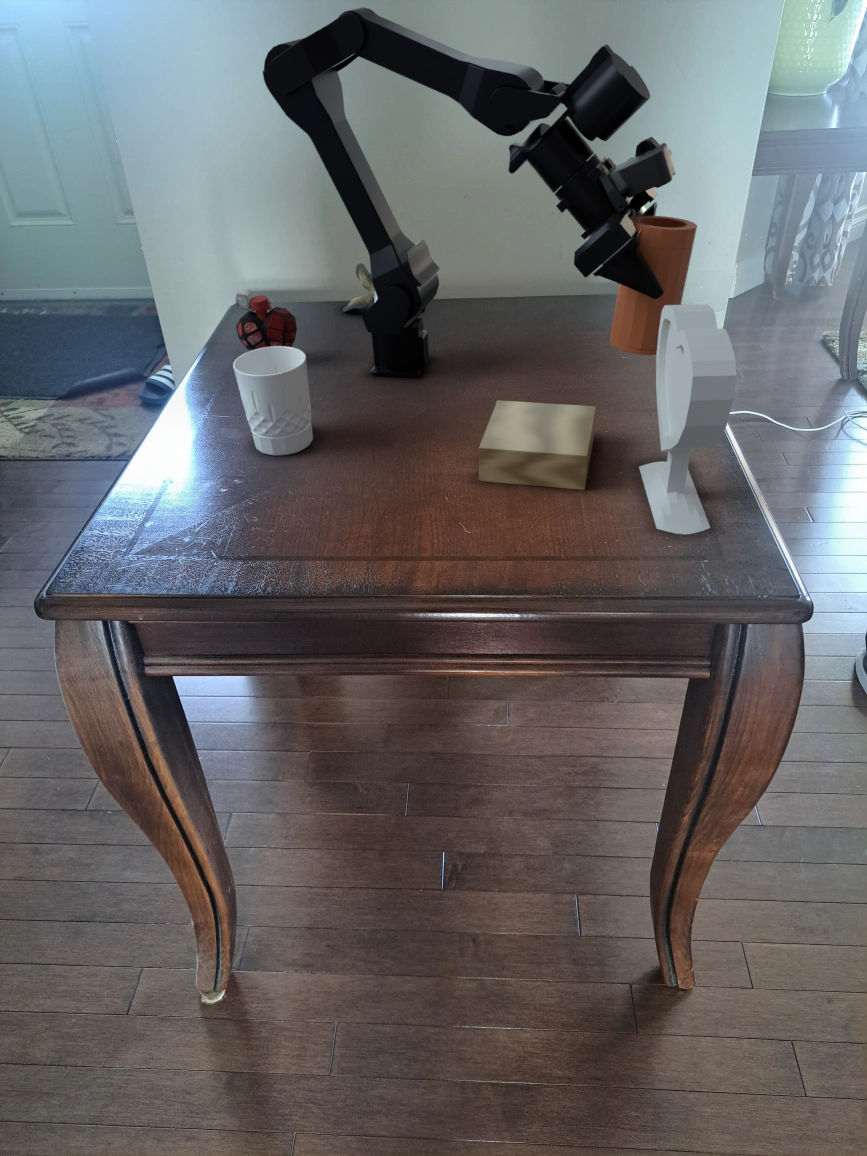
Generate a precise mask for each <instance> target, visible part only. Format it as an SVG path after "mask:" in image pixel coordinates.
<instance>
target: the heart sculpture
mask: <svg viewBox="0 0 867 1156" xmlns="http://www.w3.org/2000/svg"><path fill="white" fill-rule="evenodd" d="M717 324H718V323H717V317H716V312H715V310H714V309H713V307H712V305H709V304H707V303H694V304H692V303H690V304H681V305H665V306H664V307H663V309H662V312H661V319H660V325H659V333H658V344H657V355H655V360H656V361H655V364H656V365H655V375H656V376H655V389H656V390H655V391H656V392H655V394H656V407H657V408H656V409H657V410H656V411H657V420H658V421H657V422H658V431H659V445H660V452H667V458H666V461H660V460H659V461H654V462H650V463H646V464H643V465H640V466H638V469H639V472H640V476H641V479H642V483H643V486H644V491H645V493H646V496H647V500H648V503H649V507H650V510H651V513H652V518H653V521H654V524H655V528H656V529H657V530H660V531H664V532H667V533H671V534H675V535H676V534H677V535H685V536H686V535H693V534H697V533H701V532H704V531H706V530H709V529H711V526H710V523H709V520H708V517H707V514H706V512H705V510H704V507H703V504H702V502H701V499H700V497H699V494H698V491H697V489H696V486H695V483H694V481H693V478H692V476H691V473H690V471H689V463H690V457H691V452H694V451H696V452H697V451H700V450H705V449H711V448H712V447H714V446H715V445H717V444H718V443H719V442H720V439H721V438H722V436H723V433H724V432H725V430H726V428H727V427H728V423H729V418H730V415H731V410H732V406H733V403H734V395H735V390H736V389H735V388H736V382H737V363H736V357H735V353H734V348H733V345H732V342H731V339H730V338H731V337H730V336H729V333H728V332H727V330H726V328H718V325H717Z"/></svg>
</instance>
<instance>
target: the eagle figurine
mask: <svg viewBox="0 0 867 1156" xmlns="http://www.w3.org/2000/svg"><path fill="white" fill-rule="evenodd" d="M354 273H355V276H356V278H357V279H358V281H359V283H361V285H362V287H363V288H364V289H365V290H367V291H369V292H368V293H367V294H363V295H360V296H357V297H354V298H352V300H351V301H349V302H348V304H347V305H346V306H344V307H343V308H342V311H343V312H349V311H351V310H353V309H360V310H361V309H364V308H367V307H368V306H369V305H370V304H371V303H372V302H373V304H374V303H375V302H376V301H377V300H378V297H377V295H376V292H375V289H374V286H373V283H372V279H371V272H370V271H369V270H368V269H367V267H366V265H365V263H362V262H361V263H360V262H359V263H357V265H356V266H355V272H354Z"/></svg>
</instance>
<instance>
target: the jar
mask: <svg viewBox="0 0 867 1156" xmlns="http://www.w3.org/2000/svg"><path fill="white" fill-rule="evenodd" d="M630 220H631V221H632V223H633V225H634V227H635V229H636V231H635V232H634V234H635V233H636V232H637V231H639V230H640V229H641V241H640V251H641V253H642V255H643V256H644V258H645V260H646V261H647V263H648V265H649V267H650V268H651V270H652V272H653V273H654V275H655V277H656V278H657V280H658V282H659V284H660V286H661V287H662V289H663V295H661V296H660V297H659V298H658V299H653V298H651V297H649V296H647V295H644V294H642V293H640V292H638V291H635V290H633V289H631V288H629V287H626V286H624V285H621V284H619V283H618V287H617V293H616V298H615V305H614V311H613V317H612V322H611V323H612V324H611V329H610V339H609V342H610V345H611V346H612V347H614V348H615V349H617V350H619V351H621V352H622V351H623V352H625V353H629V354H634V355H640V356H641V355H642V356H657V344H658V333H659V325H660V319H661V312H662V309H663V307H664V306H665V305H682V301H683V297H684V291H685V287H686V282H687V277H688V273H689V268H690V262H691V257H692V252H693V246H694V243H695V238H696V233H697V230H698V229H697V228H698V225H697V224H696V223H695V222H693V221H691V220H688V219H683V218H679V217H673V216H665V215H664V216H663V215H655V216H638V217H633V218H631V219H630ZM634 234H633V235H634Z"/></svg>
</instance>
